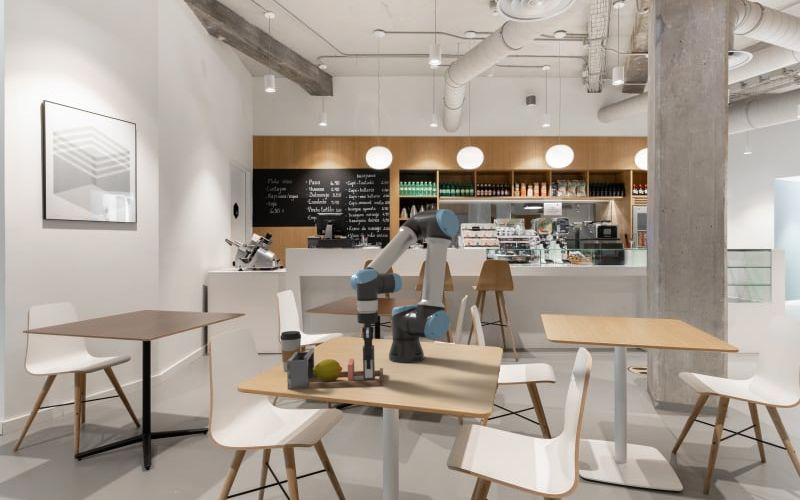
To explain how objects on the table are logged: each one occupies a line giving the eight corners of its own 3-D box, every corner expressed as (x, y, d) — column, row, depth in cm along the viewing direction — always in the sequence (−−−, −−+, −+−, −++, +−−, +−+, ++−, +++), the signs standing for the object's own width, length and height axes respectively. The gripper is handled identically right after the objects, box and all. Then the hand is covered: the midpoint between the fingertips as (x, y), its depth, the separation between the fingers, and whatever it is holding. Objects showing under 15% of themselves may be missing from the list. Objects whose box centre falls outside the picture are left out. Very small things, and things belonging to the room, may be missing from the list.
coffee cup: (296, 372, 188) (296, 334, 188) (277, 372, 190) (276, 334, 190) (305, 367, 196) (304, 330, 196) (286, 366, 198) (285, 330, 198)
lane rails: (383, 374, 182) (382, 368, 182) (382, 385, 167) (382, 378, 167) (314, 376, 181) (314, 370, 181) (308, 388, 166) (307, 381, 166)
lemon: (341, 377, 179) (340, 356, 179) (344, 383, 172) (344, 360, 172) (311, 380, 176) (311, 358, 176) (313, 386, 169) (313, 363, 169)
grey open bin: (314, 376, 181) (313, 348, 181) (307, 388, 166) (307, 357, 166) (296, 376, 181) (295, 348, 181) (287, 388, 166) (286, 358, 166)
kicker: (375, 375, 179) (374, 343, 179) (374, 383, 169) (373, 349, 169) (350, 376, 179) (349, 344, 179) (348, 383, 169) (347, 350, 169)
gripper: (358, 309, 183) (360, 370, 183) (355, 315, 166) (357, 382, 166) (378, 308, 183) (379, 369, 183) (377, 314, 166) (379, 382, 166)
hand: (369, 375), depth 174 cm, fingers closed on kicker, 4 cm apart
